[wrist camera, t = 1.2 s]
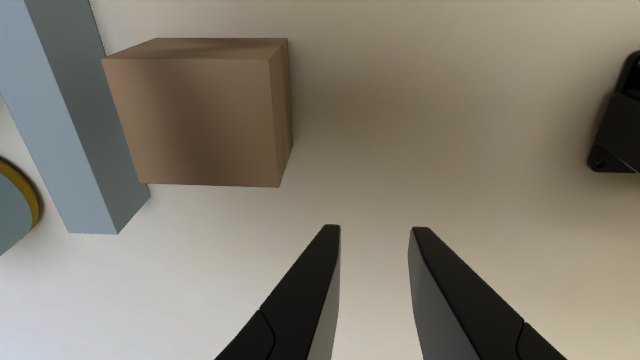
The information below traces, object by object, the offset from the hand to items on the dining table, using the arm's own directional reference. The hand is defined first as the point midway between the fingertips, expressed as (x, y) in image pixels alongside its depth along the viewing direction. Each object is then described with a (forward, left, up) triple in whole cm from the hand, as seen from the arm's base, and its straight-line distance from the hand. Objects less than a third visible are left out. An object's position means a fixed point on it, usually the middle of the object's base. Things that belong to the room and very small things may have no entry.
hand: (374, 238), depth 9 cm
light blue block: (+16, 0, -12) cm, 20 cm away
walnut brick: (+8, 0, -12) cm, 14 cm away
